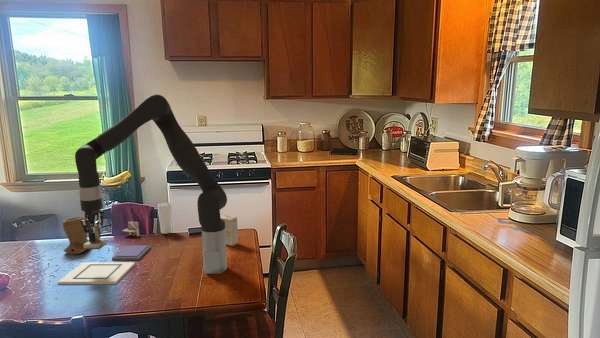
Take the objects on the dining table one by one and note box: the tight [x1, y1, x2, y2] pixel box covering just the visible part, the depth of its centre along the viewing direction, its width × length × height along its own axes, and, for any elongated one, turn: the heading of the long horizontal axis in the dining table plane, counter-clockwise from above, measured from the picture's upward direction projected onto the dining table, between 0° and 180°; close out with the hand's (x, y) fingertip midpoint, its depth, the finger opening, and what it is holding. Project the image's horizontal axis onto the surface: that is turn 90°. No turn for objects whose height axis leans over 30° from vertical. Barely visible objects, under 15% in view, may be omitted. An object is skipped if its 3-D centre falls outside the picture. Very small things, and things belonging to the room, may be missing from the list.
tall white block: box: [157, 201, 173, 235], centre depth 213 cm, size 7×7×15 cm
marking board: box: [57, 261, 136, 285], centre depth 166 cm, size 18×22×1 cm
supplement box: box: [220, 214, 239, 247], centre depth 197 cm, size 8×5×13 cm, turn 58°
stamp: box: [83, 226, 108, 250], centre depth 164 cm, size 6×6×8 cm
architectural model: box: [122, 221, 140, 238], centre depth 209 cm, size 3×7×7 cm, turn 76°
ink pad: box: [111, 245, 152, 261], centre depth 186 cm, size 14×12×2 cm
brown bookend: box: [62, 215, 89, 255], centre depth 191 cm, size 15×12×15 cm
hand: (95, 239), depth 164 cm, fingers closed on stamp, 3 cm apart
